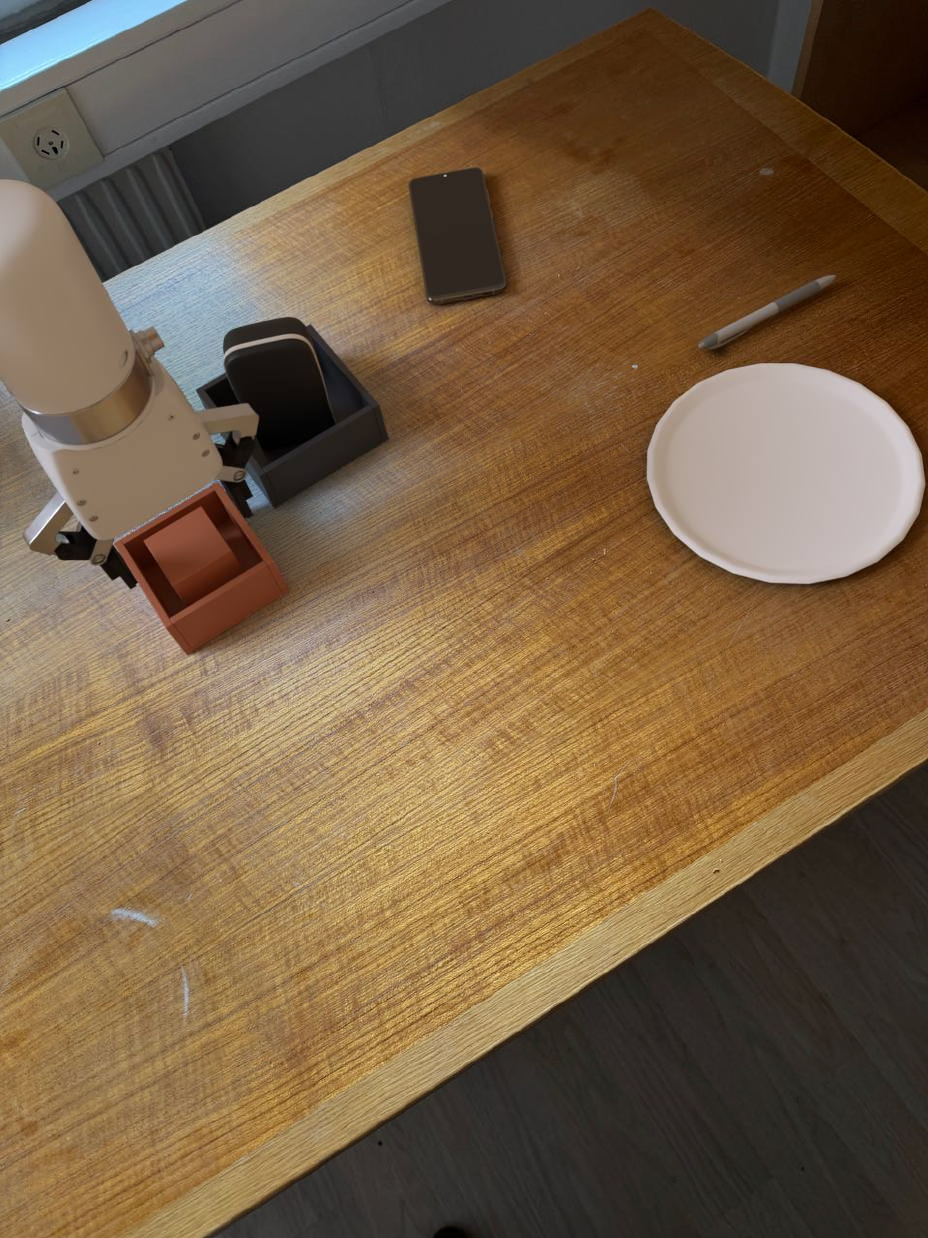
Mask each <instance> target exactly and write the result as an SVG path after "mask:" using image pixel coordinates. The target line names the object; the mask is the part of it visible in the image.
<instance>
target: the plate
mask: <svg viewBox="0 0 928 1238" xmlns="http://www.w3.org/2000/svg"><path fill="white" fill-rule="evenodd" d="M646 452H647V453H646V454H647V456H646V482H647V485H648V489H649V492H650V495H651V499H652V502H653V504H654V507H655V510H656V511H657V513H658V514H659V516H660V517H661V519H662V520H663V521H664V523H665V525H666V526H667V528H668V529H669V530H670V532H671V534H672V535H673V536H674V537H675V538H676V539H678V541H680V542H681V543H682V544H684V545H685V546H686V547H687V548H688V549H689V550H690V551H692V552H693V554H695V555H696V556H697V557H698V558H700V559H702V560H704V561H706V562H707V563H709V564H712V565H714V566H716V567H718V568H720V569H721V570H723V571H725V572H727V573H729V574H731V575H733V576H738V577H741V578H744V579H745V578H746V579H750V580H754V581H756V582H757V581H758V582H762V583H764V584H770V585H801V586H802V585H803V586H810V585H814V584H820V583H825V582H830V581H834V580H835V581H836V580H840V579H845V578H847V577H850V576H851V575H854V574H856V573H858V572H860V571H862V570H865V569H866V568H868V567H870V566H873V565H875V564H877V563H879V562H880V561H881V560H882V559H883V558H884V557H886V556H887V555H888V554H889V553H891V551H892V550H893V549H894V548H897V546H898V545H899V544H901V543H902V542H903V541H904V539H905V537H906V536H907V534H908V532H909V531H910V529H911V527H913V524H914V522H915V521H916V519H917V518H918V516H919V514H920V513H921V512H920V511H921V507H922V502H923V497H924V492H925V488H926V477H925V471H924V462H923V456H922V452H921V450H920V448H919V446H918V443H917V442H916V439H915V437H914V435H913V434H912V431H911V429H910V427H909V425H907V423H906V422H905V421H904V420H903V419H902V418H901V416H900V415H899V414H898V413H897V412H896V411H895V409H894V408H893V407H892V406H891V404H889V403H888V402H887V401H886V400H885V399H883V398H882V397H880V396H879V395H877V394H876V393H874V392H873V391H871V390H870V389H869V388H867V387H866V386H864V385H863V384H862V383H860V382H858V381H855V380H853V379H850V378H848V377H845V376H844V375H842V374H838V373H836V372H834V371H831V370H829V369H826V368H825V369H824V368H821V367H820V368H819V367H814V366H811V365H805V364H801V363H792V362H790V363H788V362H787V363H783V362H782V363H781V362H780V363H777V362H776V363H775V362H773V363H772V362H770V363H768V362H766V363H765V362H763V363H762V362H760V363H756V364H750V365H745V366H740V367H735V368H730V369H727V370H724V371H722V372H720V373H717V374H715V375H713V376H710V377H707V378H706V379H703V380H701V381H699V382H697V383H696V384H694V385H693V386H692V387H690V388H689V389H688V390H687V391H685V392H684V393H683V394H682V395H680V396H679V397H677V398H676V399H675V400H674V401H673V402H672V403H671V404H670V406H669V407H668V408H667V410H666V412H664V413H663V415H662V416H661V418H660V419H659V421H658V422H657V423H656V426H655V428H654V431H653V434H652V436H651V439H650V442H649V445H648V448H647V450H646Z"/></svg>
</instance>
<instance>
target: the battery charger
mask: <svg viewBox="0 0 928 1238" xmlns="http://www.w3.org/2000/svg"><path fill="white" fill-rule="evenodd" d="M306 326H307V325H305V323H304V322H303V321H302V320H300V319H299V318H297V317H294V316H283V317H277V318H272V319H268V320H267V319H266V320H263V321H258V322H254V323H249V324H245V325H242V326H238V327H235V328H232V329H230V330H229V331H227V333H226V334H225V335H224V337H223V342H222V352H223V353H222V354H223V357H222V364H223V369H224V373H225V372H226V375H227V377H228V380H229V382H230V385H231V387H232V389H233V391H234V393H235V396H236V398H237V400H238V402H239V404H244V403H248V404H250V405H251V406H252V408H253V409H254V410H255V412H256V413H257V414H258V416H259V422H258V427H257V433H256V437H257V439H258V442H259V444H260V447H261V448H262V449H264V450H265V449H270V448H276V447H281V446H286V445H291V444H296V443H300V442H305V441H309V440H311V439H312V438H314V437H316V436H317V435H319V434H321V433H322V432H324V431H326V430H327V429H329V428H331V427H332V426H334V425H336V424H337V421H336V419H335V416H334V413H333V411H332V408H331V405H330V402H329V399H328V394H327V390H326V386H325V383H324V379H323V375H322V372H321V369H320V363H319V360H318V357H317V354H316V350H315V347H314V345H313V342H312V339H311V337H310V334H309V332H308V329H307V328H306Z"/></svg>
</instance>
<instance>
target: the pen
mask: <svg viewBox="0 0 928 1238" xmlns="http://www.w3.org/2000/svg"><path fill="white" fill-rule="evenodd" d="M836 278H837V275H836V274H831V275H829V274H828V275H825V276H822V277H820V278H817V279H815V280H812V281H810V282H808V283H807V284H804V285H803V286H800V287H799V288H797V289H795V290H793V291H791V292H789V293H787V294H785V295H783V296H781V297H779V298H777V299H775V300H774V301H772V302H770V303H768V304H767V305H765V306H763V307H761V308H759V309H757V310H756V311H753V312H752V313H750V314H748V315H745V316H744V317H742V318H740V319H738V320H736V321H734V322H732V323H730V324H728V325H727V326H724V327H722V328H720V329H718V330H717V331H715V332H713V333H711V334H709V335H707V336H706V337H704V338H703V339H702V340H701V342H700V343H699V344H698V345H697V346H698V348H699V349H703V348H704V349H707V350H715V349H717V348H718V349H719V348H721V347H723V346H724V345H726V344H728V343H731V342H732V341H734V340H736V339H737V338H739V337H741V336H742V335H744V334H745V333H746V332H747V331H749V330H750V329H751V328H753V326H754V325H756V324H758V323H761V322H762V321H764V320H766V319H768V318H770V317H773V316H775V315H777V314H779V313H780V312H783V311H784V310H786V309H788V308H790V307H792V306H794V305H796V304H798V303H799V302H802V301H804V300H805V299H807V298H810V297H811V296H813V295H815V294H817V293H819V292H820V291H822V290H824V289H825V288H827V287H828V286H830V285H831V284H832V283H833V282H834V281H835V280H836Z"/></svg>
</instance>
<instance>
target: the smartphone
mask: <svg viewBox="0 0 928 1238" xmlns="http://www.w3.org/2000/svg"><path fill="white" fill-rule="evenodd" d="M408 193H409V199H410V204H411V211H412V218H413V223H414V230H415V235H416V241H417V248H418V253H419V260H420V261H419V262H420V267H421V272H422V273H421V275H422V280H423V285H424V291H425V297H426V301H427V302H428V303H429V304H430V305H432V306H438V305H443V304H449V303H456V302H459V301H466V300H472V299H477V298H483V297H487V296H488V297H489V296H493V295H498V294H499V295H500V294H502V293H504V292H505V291H506V290H507V287H508V283H507V278H506V274H505V269H504V268H505V267H504V264H503V260H502V254H501V249H500V245H499V240H498V236H497V231H496V226H495V222H494V214H493V210H492V207H491V200H490V195H489V190H488V188H487V183H486V179H485V173H484V171H483V169H482V168H480V167H478V166H473V167H467V168H463V169H462V168H461V169H457V170H456V169H455V170H451V171H446V172H440V173H435V174H430V175H429V174H428V175H424V176H418V177H414V178H412V179H410V181H408Z"/></svg>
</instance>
